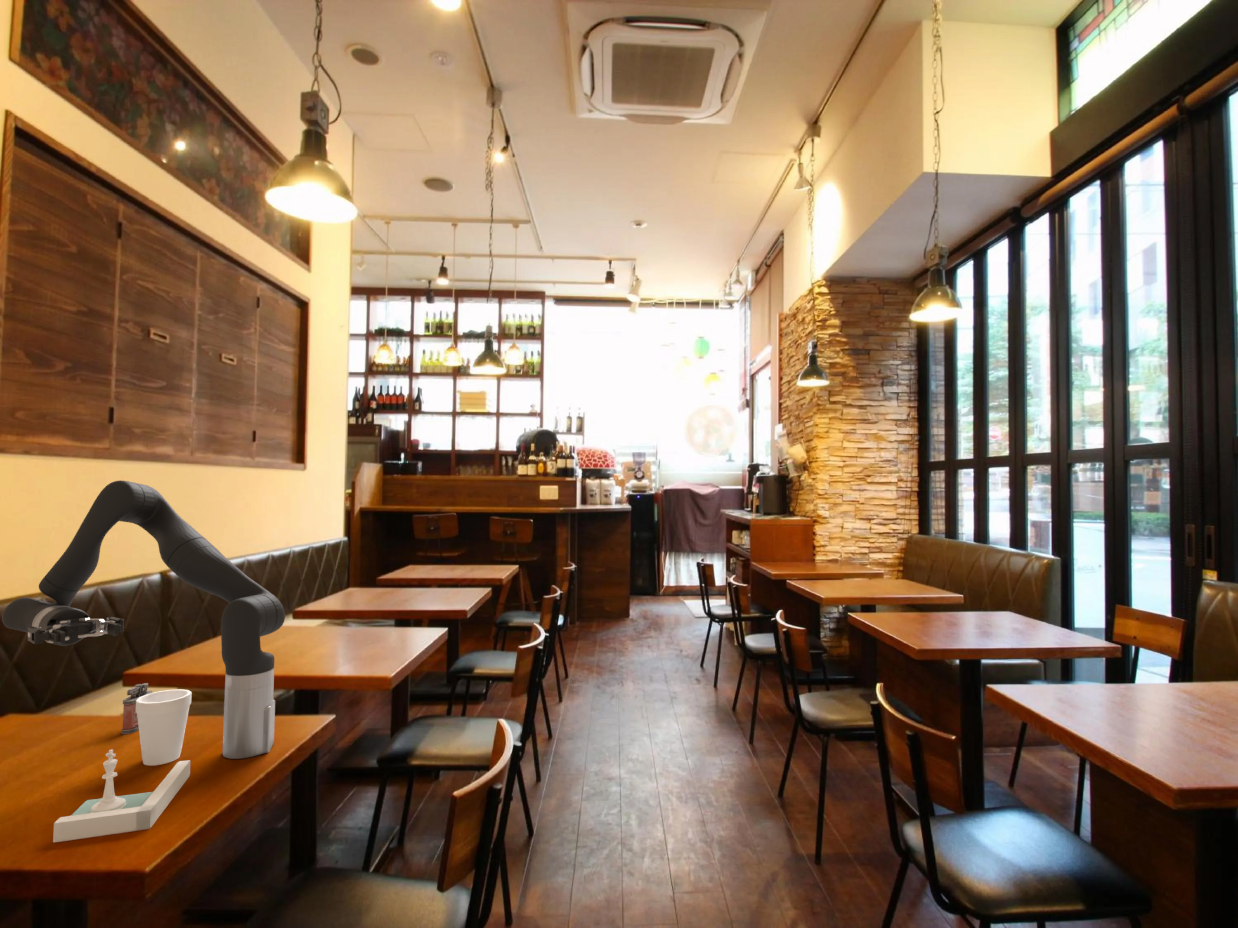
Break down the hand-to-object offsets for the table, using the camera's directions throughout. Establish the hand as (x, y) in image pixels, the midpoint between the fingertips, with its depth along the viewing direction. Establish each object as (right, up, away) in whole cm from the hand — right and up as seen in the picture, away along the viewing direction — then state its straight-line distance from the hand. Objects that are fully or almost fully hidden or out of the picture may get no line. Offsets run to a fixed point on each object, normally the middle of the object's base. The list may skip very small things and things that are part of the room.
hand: (90, 633), depth 123 cm
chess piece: (+15, -27, -14) cm, 34 cm away
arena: (+16, -27, -12) cm, 34 cm away
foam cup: (+8, -29, +8) cm, 31 cm away
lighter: (-11, -30, +26) cm, 41 cm away
